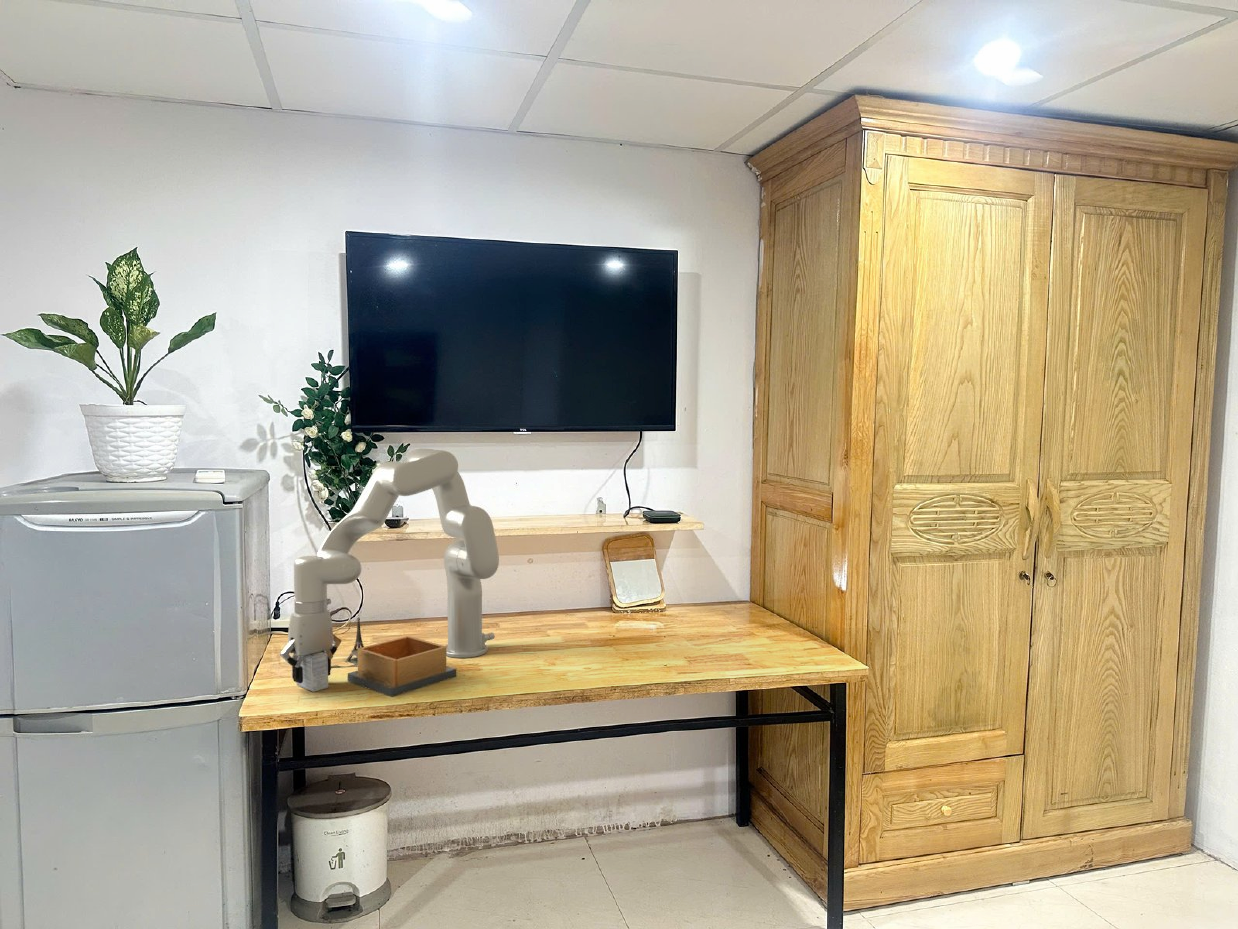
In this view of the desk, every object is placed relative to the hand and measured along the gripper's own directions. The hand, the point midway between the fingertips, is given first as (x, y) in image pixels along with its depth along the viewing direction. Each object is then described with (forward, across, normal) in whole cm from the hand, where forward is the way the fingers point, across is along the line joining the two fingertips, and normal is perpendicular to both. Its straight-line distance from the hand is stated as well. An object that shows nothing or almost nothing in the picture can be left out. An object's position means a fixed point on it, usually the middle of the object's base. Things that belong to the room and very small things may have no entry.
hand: (312, 677), depth 211 cm
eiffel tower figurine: (+3, -20, -10) cm, 22 cm away
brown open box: (+2, -18, +12) cm, 22 cm away
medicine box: (+3, 0, 0) cm, 3 cm away
